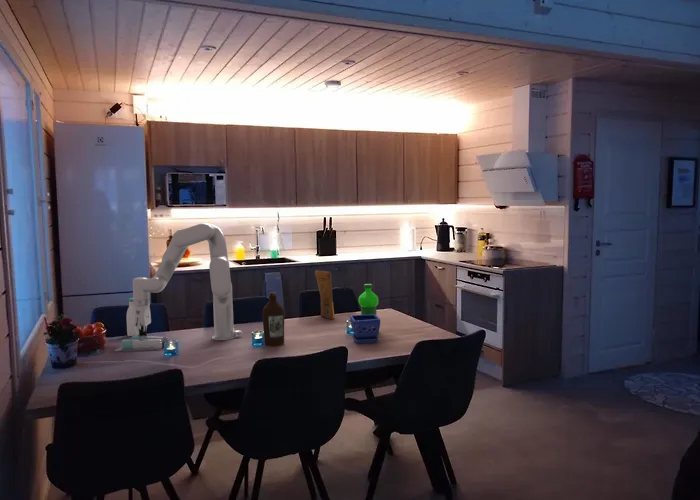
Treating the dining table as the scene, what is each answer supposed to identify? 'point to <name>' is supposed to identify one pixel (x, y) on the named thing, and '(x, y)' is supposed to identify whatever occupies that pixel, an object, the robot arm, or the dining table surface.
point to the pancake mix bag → (325, 293)
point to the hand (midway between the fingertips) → (143, 339)
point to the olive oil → (273, 322)
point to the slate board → (141, 349)
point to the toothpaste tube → (146, 337)
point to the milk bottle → (131, 319)
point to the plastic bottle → (368, 301)
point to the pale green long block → (143, 344)
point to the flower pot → (365, 328)
